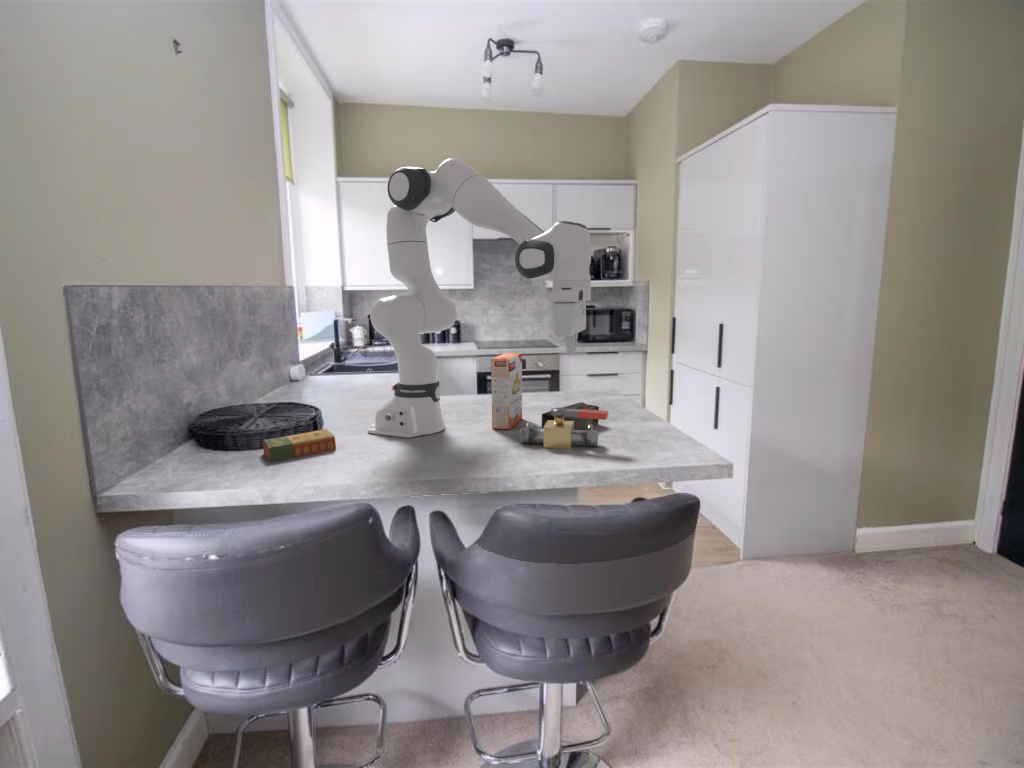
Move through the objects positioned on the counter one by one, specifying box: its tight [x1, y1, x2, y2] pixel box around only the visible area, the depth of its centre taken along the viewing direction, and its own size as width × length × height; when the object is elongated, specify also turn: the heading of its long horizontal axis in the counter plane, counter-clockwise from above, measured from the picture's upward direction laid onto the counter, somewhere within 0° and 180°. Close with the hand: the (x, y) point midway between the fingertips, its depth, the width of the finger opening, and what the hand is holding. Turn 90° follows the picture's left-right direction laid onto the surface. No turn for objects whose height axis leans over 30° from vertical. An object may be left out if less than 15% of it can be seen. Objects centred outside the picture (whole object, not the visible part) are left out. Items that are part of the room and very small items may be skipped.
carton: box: [262, 428, 337, 463], centre depth 133 cm, size 8×16×4 cm, turn 124°
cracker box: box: [490, 352, 523, 431], centre depth 154 cm, size 14×6×21 cm, turn 164°
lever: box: [550, 407, 609, 421], centre depth 131 cm, size 14×4×2 cm, turn 69°
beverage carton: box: [541, 401, 600, 430], centre depth 148 cm, size 8×19×7 cm, turn 140°
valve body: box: [519, 416, 599, 450], centre depth 134 cm, size 20×7×8 cm, turn 77°
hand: (571, 352), depth 122 cm, fingers closed
